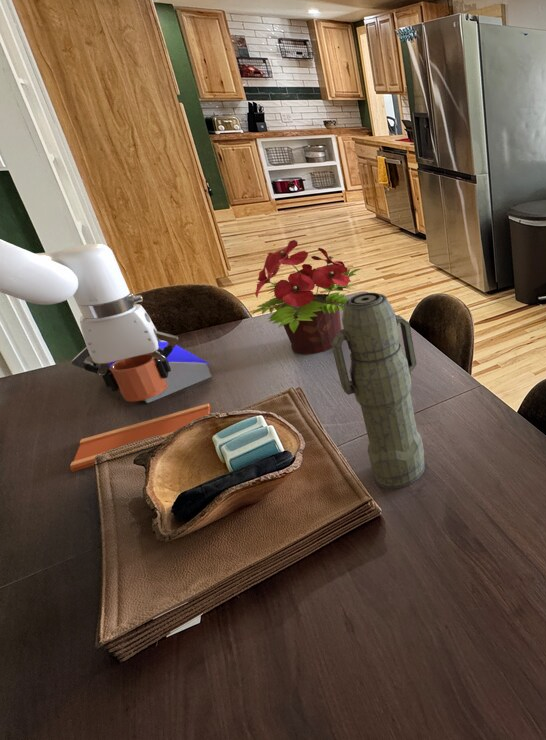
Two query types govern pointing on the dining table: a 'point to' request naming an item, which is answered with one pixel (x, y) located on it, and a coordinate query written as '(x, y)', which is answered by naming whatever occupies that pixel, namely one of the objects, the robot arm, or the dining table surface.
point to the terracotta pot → (138, 378)
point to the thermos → (382, 386)
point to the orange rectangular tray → (133, 435)
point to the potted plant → (306, 299)
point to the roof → (181, 370)
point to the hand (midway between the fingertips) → (141, 380)
